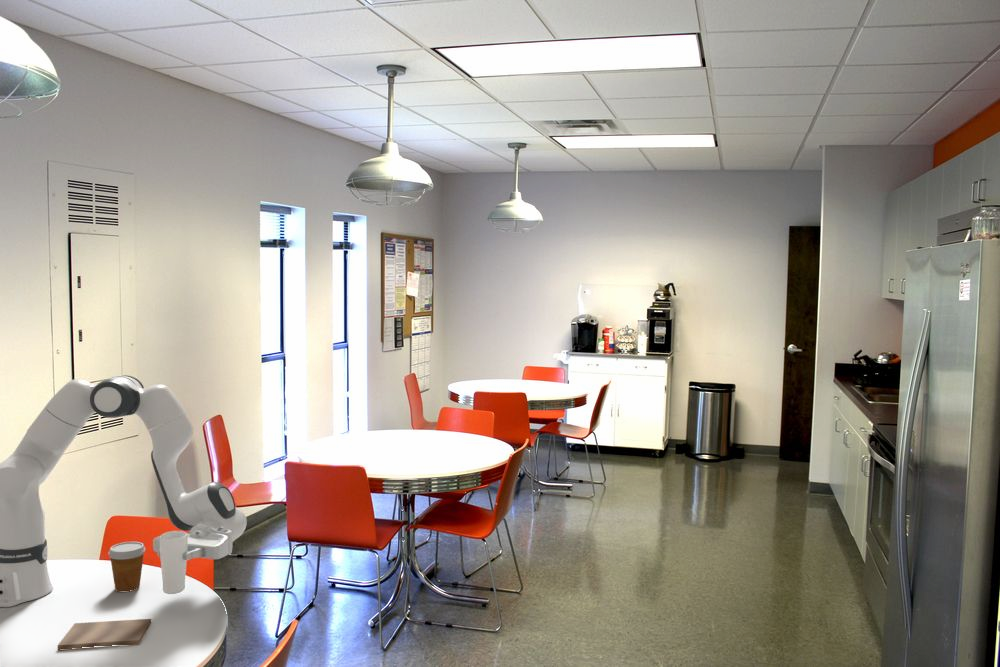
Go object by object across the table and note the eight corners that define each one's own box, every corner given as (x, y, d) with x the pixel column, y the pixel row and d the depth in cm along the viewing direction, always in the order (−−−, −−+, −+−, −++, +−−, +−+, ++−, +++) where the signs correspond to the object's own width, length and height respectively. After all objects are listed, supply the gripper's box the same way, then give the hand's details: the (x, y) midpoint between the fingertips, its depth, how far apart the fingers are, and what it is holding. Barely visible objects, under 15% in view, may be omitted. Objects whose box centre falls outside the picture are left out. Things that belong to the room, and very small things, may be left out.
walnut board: (57, 650, 183) (57, 645, 183) (74, 627, 195) (74, 623, 195) (139, 644, 187) (139, 639, 187) (151, 623, 198) (151, 618, 198)
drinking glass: (177, 597, 199) (177, 540, 198) (154, 594, 200) (153, 537, 199) (193, 587, 206) (193, 532, 204) (170, 584, 207) (170, 529, 206)
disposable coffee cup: (104, 595, 215) (104, 553, 214) (113, 582, 224) (113, 542, 223) (142, 593, 217) (141, 551, 216) (149, 580, 226) (148, 540, 225)
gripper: (172, 523, 217) (138, 539, 204) (237, 531, 212) (206, 547, 199) (172, 545, 217) (138, 562, 204) (237, 553, 212) (206, 571, 199)
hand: (172, 555), depth 201 cm, fingers closed on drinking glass, 6 cm apart
